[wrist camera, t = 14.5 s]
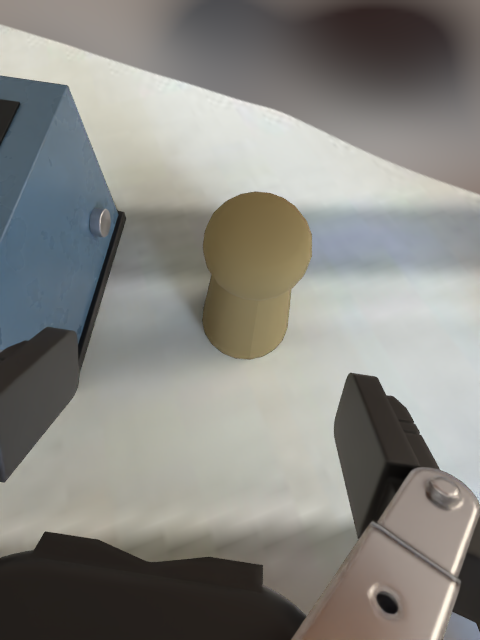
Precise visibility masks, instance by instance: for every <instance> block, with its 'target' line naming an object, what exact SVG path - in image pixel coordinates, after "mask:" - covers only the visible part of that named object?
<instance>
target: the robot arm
mask: <svg viewBox="0 0 480 640" xmlns="http://www.w3.org/2000/svg"><path fill="white" fill-rule="evenodd" d="M78 383H79V360H78V338H77V334H76V332H75V331H73V330H67V329H61V328H54V327H46V328H44V329H43V330H42V331H40V332H39V333H38V334H36V335H35V336H34V337H33V338H31V339H30V340H29V341H28V340H25V341H22V342H20V343H17V344H15V345H12V346H10V347H7V348H6V349H4V350H3V351H2V352H0V482H5V481H6V480H7V479H8V478H9V476H10V475H11V474H12V473H13V471H14V470H15V469H16V468H17V467H18V465H19V464H20V463H21V462H22V460H23V459H24V458H25V457H26V455H27V454H28V453H29V452H30V450H31V449H32V448H33V447H34V445H35V444H36V443H37V442H38V440H39V439H40V438H41V437H42V435H43V434H44V433H45V432H46V430H47V429H48V428H49V427H50V425H51V424H52V423H53V422H54V420H55V419H56V418H57V417H58V415H59V414H60V413H61V412H62V410H63V409H64V408H65V407H66V405H67V404H68V403H69V402H70V400H71V399H72V398H73V396H74V395H75V393H76V390H77V387H78ZM419 433H420V432H419V430H418V428H417V426H416V425H415V424H414V421H413V419H412V417H411V415H410V414H409V412H408V410H407V408H406V407H404V406H403V405H402V404H401V403H400V402H399V401H398V400H397V399H396V398H395V397H394V396H387V395H386V394H385V392H384V390H383V388H382V386H381V384H380V382H379V380H378V378H377V377H375V376H368V375H362V374H355V373H350V374H349V375H348V376H347V379H346V382H345V385H344V389H343V392H342V396H341V399H340V403H339V406H338V410H337V413H336V417H335V422H334V438H335V442H336V447H337V451H338V455H339V459H340V464H341V468H342V472H343V477H344V481H345V485H346V489H347V494H348V498H349V502H350V506H351V511H352V515H353V519H354V524H355V528H356V532H357V536H358V539H359V540H358V541H357V543H356V544H355V546H354V547H353V549H352V550H351V552H350V553H349V555H348V556H347V558H346V559H345V561H344V562H343V564H342V565H341V567H340V568H339V570H338V571H337V573H336V574H335V575H334V577H333V578H332V580H331V581H330V583H329V584H328V586H327V587H326V589H325V590H324V592H323V593H322V595H321V596H320V598H319V599H318V601H317V602H316V604H315V605H314V607H313V608H312V609H311V611H310V612H309V614H308V615H307V616H306V615H305V614H304V613H303V612H302V611H301V610H300V609H299V608H298V607H296V606H295V605H294V604H293V603H292V602H290V601H289V600H288V599H286V598H285V597H284V596H282V595H281V594H279V593H277V592H276V591H274V590H272V589H270V588H268V587H266V586H264V585H262V584H263V565H258V564H251V563H245V562H238V561H232V560H226V559H219V558H213V557H204V558H193V559H183V560H173V561H163V562H147V561H144V560H142V559H140V558H137V557H135V556H133V555H131V554H129V553H126V552H124V551H122V550H120V549H118V548H115V547H113V546H111V545H109V544H107V543H104V542H102V541H100V540H97V539H90V538H84V537H77V536H71V535H64V534H58V533H52V532H44V534H43V536H42V537H41V539H40V541H39V542H38V544H37V546H36V548H35V549H34V550H32V551H25V552H20V553H16V554H11V555H8V556H5V557H2V558H0V640H443V638H444V635H445V632H446V629H447V626H448V622H449V619H450V616H451V613H452V612H454V613H456V614H459V615H461V616H463V617H465V618H467V619H469V620H471V621H473V622H475V623H476V624H477V626H478V629H479V631H480V505H479V502H478V500H477V498H476V496H475V495H474V494H473V492H472V491H471V490H470V489H469V488H468V487H467V486H466V485H465V484H464V483H462V482H461V481H460V480H458V479H457V478H455V477H454V476H452V475H450V474H448V473H446V472H444V471H441V470H440V469H439V467H438V465H437V463H436V461H435V459H434V458H433V456H432V454H431V452H430V450H429V448H428V447H427V445H426V443H425V441H424V439H423V437H422V436H421V435H419Z"/></svg>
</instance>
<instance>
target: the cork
mask: <svg viewBox="0 0 480 640" xmlns="http://www.w3.org/2000/svg"><path fill="white" fill-rule="evenodd" d="M203 252H204V257H205V261H206V265H207V268H208V269H209V271H210V273H211V274H212V275H211V279H210V284H209V288H208V292H207V296H206V300H205V304H204V309H203V317H202V322H203V326H204V331H205V334H206V335H207V337H208V339H209V340H210V342H211V343H212V345H214V346H215V347H216V348H217V349H218V350H219V351H221V352H222V353H224V354H226V355H229V356H231V357H234V358H239V359H253V358H258V357H262V356H264V355H266V354H268V353H269V352H271V351H273V350H274V349H275V348H276V347H277V346H278V345H279V343H280V342H281V341H282V340H283V338H284V335H285V333H286V330H287V326H288V317H289V307H290V297H291V289H292V288H293V287H294V286H295V285H296V284H297V283H298V281H299V280H300V279H301V278H302V277H303V276H304V274H305V272H306V269H307V267H308V264H309V262H310V259H311V257H312V234H311V232H310V229H309V226H308V223H307V221H306V219H305V218H304V217H303V216H302V214H301V213H300V212H299V210H298V209H297V208H296V207H295V206H294V205H293V204H291V203H290V202H288V201H287V200H286V199H284V198H282V197H279V196H277V195H274V194H271V193H264V192H250V193H244V194H240V195H238V196H236V197H234V198H232V199H230V200H228V201H226V202H225V203H224V204H223V205H222V206H220V207H219V208H218V209H217V210H216V211H215V212H214V213H213V215H212V217H211V219H210V221H209V223H208V225H207V227H206V229H205V233H204V241H203Z"/></svg>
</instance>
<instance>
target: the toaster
mask: <svg viewBox="0 0 480 640" xmlns="http://www.w3.org/2000/svg"><path fill="white" fill-rule="evenodd" d="M125 220H126V217H125V214H124V212H121V211H117V209H116V207H115V204H114V202H113V199H112V197H111V194H110V191H109V189H108V186H107V184H106V181H105V179H104V176H103V174H102V171H101V169H100V166H99V163H98V161H97V158H96V156H95V153H94V151H93V148H92V146H91V143H90V141H89V138H88V135H87V133H86V130H85V128H84V125H83V123H82V120H81V118H80V115H79V113H78V110H77V107H76V105H75V102H74V100H73V97H72V95H71V92H70V90H69V87H68V86H67V85H61V84H55V83H48V82H41V81H34V80H27V79H20V78H13V77H7V76H0V352H2V351H3V350H4V349H6V348H7V347H10V346H12V345H15V344H17V343H20V342H22V341H25V340H28V341H29V340H30V339H31V338H33V337H34V336H35V335H36V334H38V333H39V332H40V331H42V330H43V329H44V328H46V327H54V328H61V329H67V330H73V331H75V332H76V334H77V338H78V360H79V373H80V370H81V367H82V363H83V360H84V357H85V353H86V350H87V347H88V343H89V340H90V337H91V333H92V330H93V327H94V323H95V320H96V317H97V313H98V310H99V307H100V303H101V300H102V297H103V293H104V290H105V287H106V283H107V280H108V277H109V273H110V270H111V267H112V263H113V260H114V257H115V253H116V250H117V247H118V243H119V240H120V237H121V233H122V230H123V227H124V223H125Z"/></svg>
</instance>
